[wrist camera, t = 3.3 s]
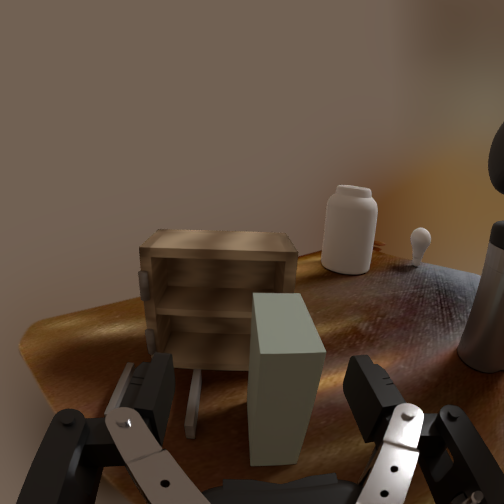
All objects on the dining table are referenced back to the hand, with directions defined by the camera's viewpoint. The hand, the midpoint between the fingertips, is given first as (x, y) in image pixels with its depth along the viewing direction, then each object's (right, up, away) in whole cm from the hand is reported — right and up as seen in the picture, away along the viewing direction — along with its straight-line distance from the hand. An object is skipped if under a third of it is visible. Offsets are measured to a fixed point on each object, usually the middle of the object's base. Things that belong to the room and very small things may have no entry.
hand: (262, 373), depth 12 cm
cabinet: (-6, -9, +20) cm, 22 cm away
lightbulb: (+45, +1, +62) cm, 77 cm away
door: (+1, -12, +12) cm, 17 cm away
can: (+23, +1, +60) cm, 64 cm away
